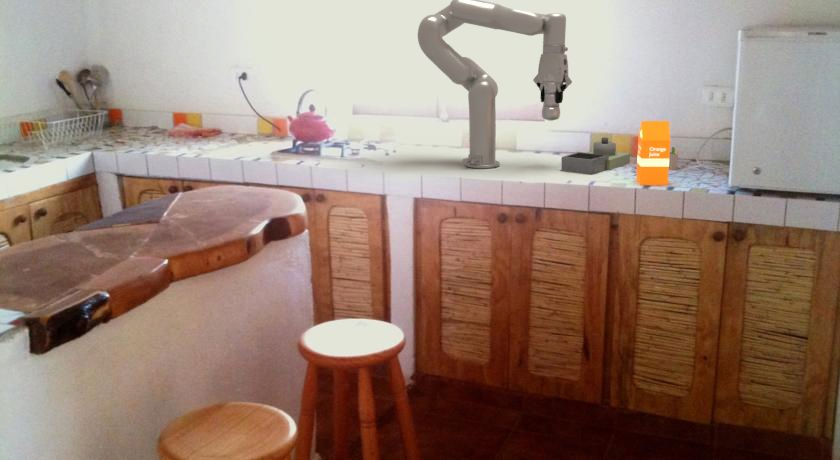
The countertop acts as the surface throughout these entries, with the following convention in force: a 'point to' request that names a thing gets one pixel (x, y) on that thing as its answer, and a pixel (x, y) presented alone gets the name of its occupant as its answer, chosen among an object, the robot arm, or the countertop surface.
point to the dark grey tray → (584, 163)
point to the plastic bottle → (550, 99)
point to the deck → (616, 160)
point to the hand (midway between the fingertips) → (551, 101)
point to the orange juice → (653, 153)
